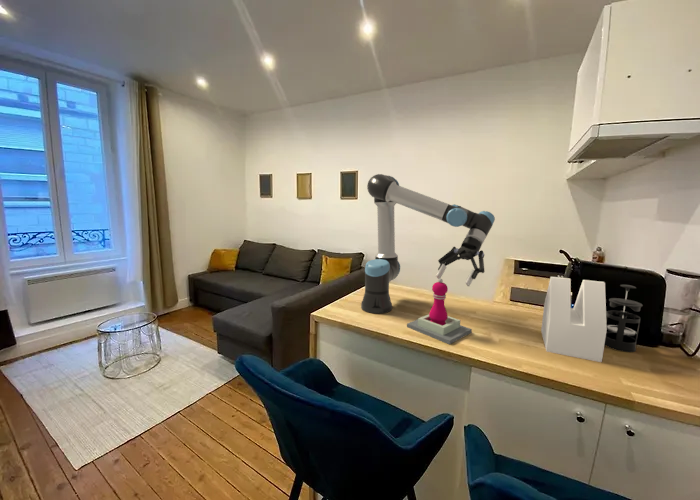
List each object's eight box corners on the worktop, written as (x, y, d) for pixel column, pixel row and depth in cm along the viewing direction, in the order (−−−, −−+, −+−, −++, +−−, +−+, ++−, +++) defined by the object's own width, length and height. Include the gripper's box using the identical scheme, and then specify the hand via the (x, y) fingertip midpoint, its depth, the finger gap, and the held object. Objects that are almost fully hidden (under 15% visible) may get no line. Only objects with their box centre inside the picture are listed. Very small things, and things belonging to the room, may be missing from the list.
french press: (635, 355, 103) (646, 291, 99) (600, 346, 110) (609, 285, 106) (636, 344, 111) (646, 284, 108) (603, 336, 118) (612, 279, 114)
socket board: (406, 326, 125) (407, 316, 125) (429, 317, 136) (430, 308, 135) (449, 344, 110) (450, 332, 110) (471, 332, 120) (472, 322, 120)
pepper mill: (426, 322, 126) (428, 276, 123) (442, 322, 127) (445, 276, 124) (432, 329, 119) (434, 281, 116) (449, 329, 120) (452, 280, 117)
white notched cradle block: (601, 362, 99) (612, 289, 95) (546, 351, 106) (554, 283, 102) (588, 339, 116) (597, 276, 112) (541, 331, 123) (548, 271, 119)
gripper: (505, 250, 123) (484, 293, 116) (450, 243, 142) (430, 279, 135) (500, 239, 118) (478, 282, 112) (445, 233, 138) (423, 269, 131)
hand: (451, 280), depth 123 cm, fingers open, 13 cm apart
